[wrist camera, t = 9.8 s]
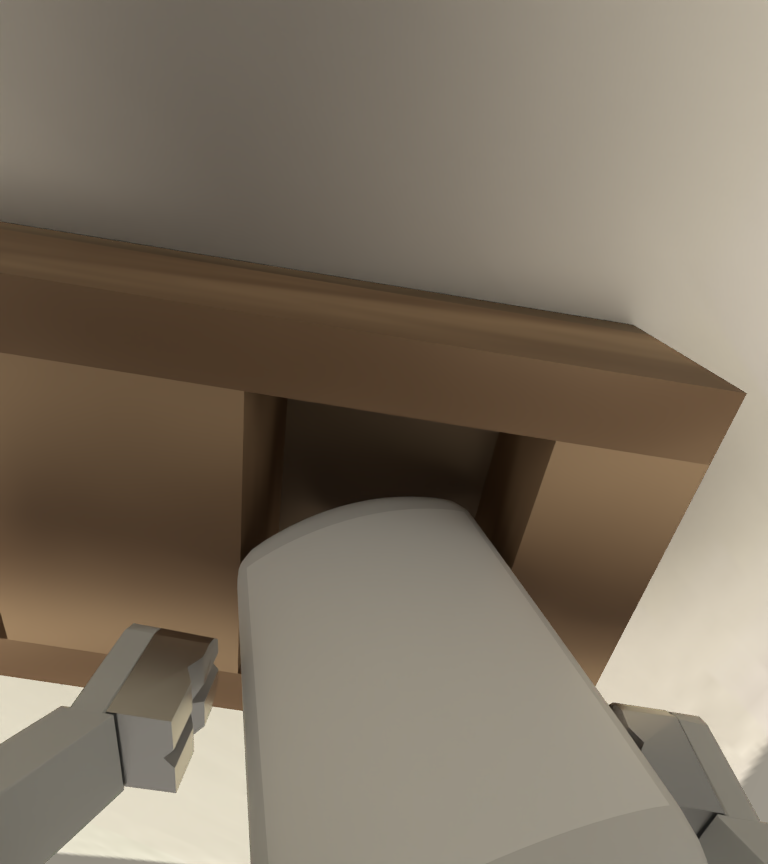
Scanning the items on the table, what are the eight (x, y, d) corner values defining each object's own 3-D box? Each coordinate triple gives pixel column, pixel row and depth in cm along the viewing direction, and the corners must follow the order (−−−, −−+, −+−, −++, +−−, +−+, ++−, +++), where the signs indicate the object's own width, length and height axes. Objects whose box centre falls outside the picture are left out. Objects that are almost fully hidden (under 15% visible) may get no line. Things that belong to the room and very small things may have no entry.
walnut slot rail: (-264, 178, 13) (-630, 170, 8) (633, 325, 13) (746, 393, 9) (-131, 517, 18) (-316, 628, 13) (522, 617, 18) (558, 757, 14)
